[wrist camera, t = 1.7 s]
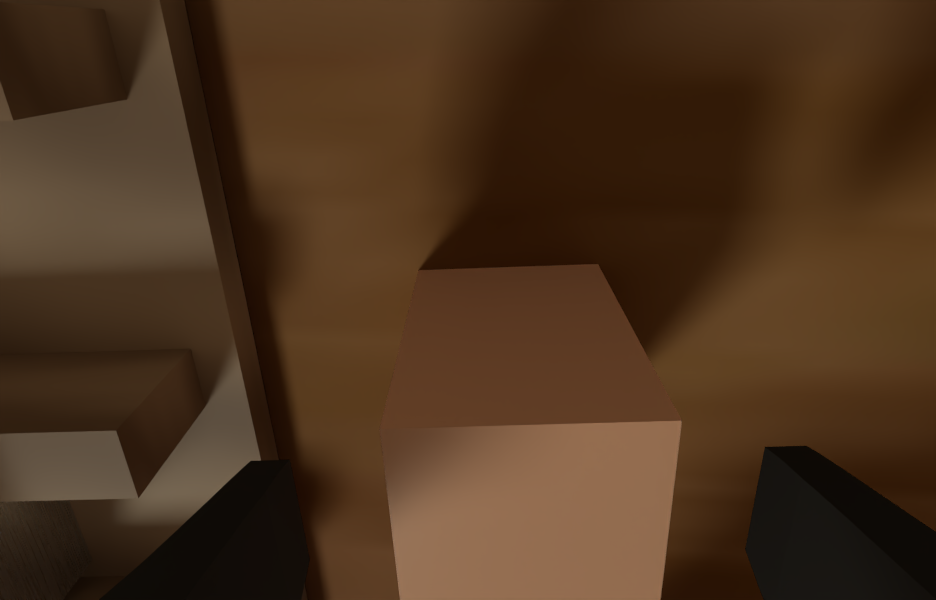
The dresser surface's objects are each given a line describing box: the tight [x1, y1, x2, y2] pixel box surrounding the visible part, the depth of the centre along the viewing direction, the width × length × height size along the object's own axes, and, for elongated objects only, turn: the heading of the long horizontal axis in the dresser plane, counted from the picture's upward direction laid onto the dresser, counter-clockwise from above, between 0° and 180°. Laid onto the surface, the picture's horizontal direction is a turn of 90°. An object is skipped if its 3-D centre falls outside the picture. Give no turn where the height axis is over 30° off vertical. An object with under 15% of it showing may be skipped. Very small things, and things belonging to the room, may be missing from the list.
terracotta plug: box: [380, 264, 682, 600], centre depth 12 cm, size 4×4×6 cm
